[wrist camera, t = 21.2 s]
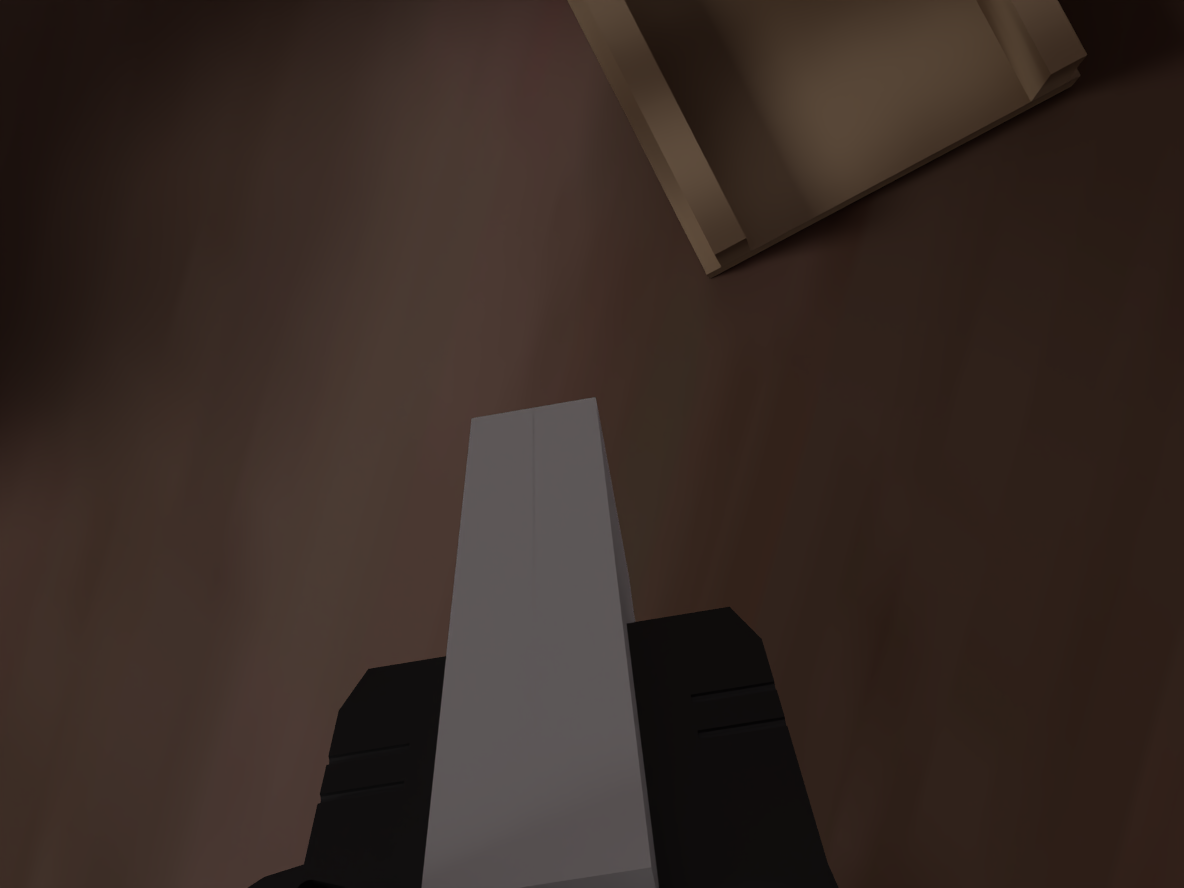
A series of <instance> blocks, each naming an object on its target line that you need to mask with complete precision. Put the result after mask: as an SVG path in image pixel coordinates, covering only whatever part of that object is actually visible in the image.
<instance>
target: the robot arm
mask: <svg viewBox="0 0 1184 888" xmlns="http://www.w3.org/2000/svg"><path fill="white" fill-rule="evenodd" d="M320 796H321V803H319V804H318V805H317V809H316V814H315V818H314V823H313V827H312V831H311V836H310V840H309V845H308V849H307V854H306V858H305V862H304V865H301V866H298V867H294V868H291V869H288V870H285V871H282V872H279V873H276V874H273V875H269V876H266V877H264V878H262V879H261V880H259V881H257V882H256V883H254V884H253V885H251V886H250V887H248V888H838V886H837V883H836V881H835V879H834V877H833V874H832V872H831V870H830V868H829V865H828V863H827V860H826V856H825V853H824V849H823V846H822V843H821V839H820V836H819V832H818V829H817V826H816V822H815V819H814V815H813V812H812V809H811V805H810V802H809V798H808V795H807V792H806V788H805V785H804V781H803V778H802V775H801V771H800V768H799V764H798V761H797V758H796V754H795V751H794V747H793V744H792V741H791V737H790V734H789V730H788V727H787V726H786V723H785V717H784V713H783V710H782V707H781V703H780V700H779V696H778V693H777V690H776V689H775V684H774V679H773V676H772V673H771V669H770V666H769V662H768V659H767V656H766V652H765V649H764V645H763V642H762V639H761V638H760V637H759V636H758V635H757V634H756V633H755V632H754V631H753V630H752V629H751V628H750V627H749V626H748V625H747V624H746V623H745V622H744V621H743V620H742V619H741V618H740V617H739V616H738V615H737V614H736V613H735V612H734V611H733V610H732V609H731V608H730V607H725V608H719V609H713V610H707V611H701V612H695V613H688V614H682V615H676V616H670V617H664V618H658V619H652V620H645V621H639V622H635V618H634V611H633V603H632V596H631V588H630V581H629V575H628V570H627V564H626V559H625V553H624V548H623V543H622V537H621V532H620V526H619V521H618V515H617V510H616V505H615V499H614V494H613V488H612V483H611V478H610V472H609V467H608V461H607V456H606V450H605V445H604V440H603V434H602V429H601V423H600V418H599V413H598V407H597V402H596V397H594V398H588V399H582V400H576V401H571V402H565V403H559V404H553V405H547V406H541V407H536V408H530V409H524V410H518V411H512V412H506V413H501V414H495V415H489V416H483V417H477V418H472V420H471V430H470V439H469V448H468V458H467V467H466V476H465V486H464V495H463V504H462V514H461V523H460V533H459V542H458V551H457V561H456V570H455V579H454V589H453V598H452V607H451V617H450V626H449V635H448V645H447V654H446V656H445V657H439V658H433V659H427V660H421V661H415V662H408V663H402V664H396V665H390V666H384V667H378V668H371V669H368V670H367V672H366V673H365V675H364V676H363V677H362V679H361V680H360V682H359V683H358V684H357V686H356V687H355V689H354V690H353V692H352V693H351V694H350V696H349V697H348V699H347V700H346V701H345V703H344V704H343V706H342V707H341V708H340V710H339V712H338V716H337V721H336V725H335V730H334V734H333V739H332V743H331V747H330V752H329V765H326V770H325V774H324V778H323V783H322V787H321V792H320Z"/></svg>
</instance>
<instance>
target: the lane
mask: <svg viewBox="0 0 1184 888" xmlns="http://www.w3.org/2000/svg"><path fill="white" fill-rule="evenodd" d="M567 1H568V3H569V5H570V7H571V8H572V10H573V12H574V14H575V16H576V18H577V20H578V22H579V24H580V26H581V28H582V30H583V32H584V34H585V36H586V38H587V40H588V42H589V44H590V46H591V48H592V50H593V52H594V54H595V56H596V58H597V60H598V62H599V64H600V66H601V67H602V69H603V71H604V73H605V75H606V77H607V79H608V81H609V83H610V85H611V87H612V89H613V91H614V93H615V95H616V97H617V99H618V101H619V103H620V105H621V107H622V109H623V111H624V113H625V115H626V117H627V119H628V121H629V123H630V124H631V126H632V128H633V130H634V132H635V134H636V136H637V138H638V140H639V142H640V144H641V146H642V148H643V150H644V152H645V154H646V156H647V158H648V160H649V162H650V164H651V166H652V168H653V170H654V172H655V174H656V176H657V178H658V180H659V182H660V183H661V185H662V187H663V189H664V191H665V193H666V195H667V197H668V199H669V201H670V203H671V205H672V207H673V209H674V211H675V213H676V215H677V217H678V219H679V221H680V223H681V225H682V227H683V229H684V231H685V233H686V235H687V237H688V239H689V240H690V242H691V244H692V246H693V248H694V250H695V252H696V254H697V256H698V258H699V260H700V262H701V264H702V266H703V268H704V270H705V272H706V274H707V276H708V277H709V278H712V277H714V276H716V275H718V274H720V273H722V272H724V271H725V270H727V269H729V268H731V267H733V266H735V265H737V264H739V263H740V262H742V261H744V260H746V259H748V258H750V257H752V256H754V255H756V254H757V253H759V252H761V251H763V250H765V249H767V248H769V247H771V246H772V245H774V244H776V243H778V242H780V241H782V240H784V239H786V238H787V237H789V236H791V235H793V234H795V233H797V232H799V231H801V230H802V229H804V228H806V227H808V226H810V225H812V224H814V223H816V222H818V221H819V220H821V219H823V218H825V217H827V216H829V215H831V214H833V213H834V212H836V211H838V210H840V209H842V208H844V207H846V206H848V205H849V204H851V203H853V202H855V201H857V200H859V199H861V198H863V197H864V196H866V195H868V194H870V193H872V192H874V191H876V190H878V189H880V188H881V187H883V186H885V185H887V184H889V183H891V182H893V181H895V180H896V179H898V178H900V177H902V176H904V175H906V174H908V173H910V172H911V171H913V170H915V169H917V168H919V167H921V166H923V165H925V164H926V163H928V162H930V161H932V160H934V159H936V158H938V157H940V156H942V155H943V154H945V153H947V152H949V151H951V150H953V149H955V148H957V147H958V146H960V145H962V144H964V143H966V142H968V141H970V140H972V139H973V138H975V137H977V136H979V135H981V134H983V133H985V132H987V131H988V130H990V129H992V128H994V127H996V126H998V125H1000V124H1002V123H1004V122H1005V121H1007V120H1009V119H1011V118H1013V117H1015V116H1017V115H1019V114H1020V113H1022V112H1024V111H1026V110H1028V109H1030V108H1032V107H1034V106H1035V105H1037V104H1039V103H1041V102H1043V101H1045V100H1047V99H1049V98H1051V97H1052V96H1054V95H1056V94H1058V93H1060V92H1062V91H1064V90H1066V89H1067V88H1069V87H1071V86H1072V85H1073V84H1074V83H1075V82H1076V81H1077V79H1078V78H1079V77H1080V76H1081V75H1080V73H1079V71H1078V69H1077V67H1078V66H1079V65H1080V63H1081V62H1082V61H1083V60H1084V58H1085V57H1086V56H1087V53H1086V52H1085V50H1084V48H1083V46H1082V44H1081V42H1080V40H1079V39H1078V37H1077V35H1076V33H1075V31H1074V29H1073V28H1072V26H1071V24H1070V22H1069V20H1068V18H1067V17H1066V15H1065V13H1064V11H1063V9H1062V7H1061V6H1060V4H1059V2H1058V0H567Z"/></svg>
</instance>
